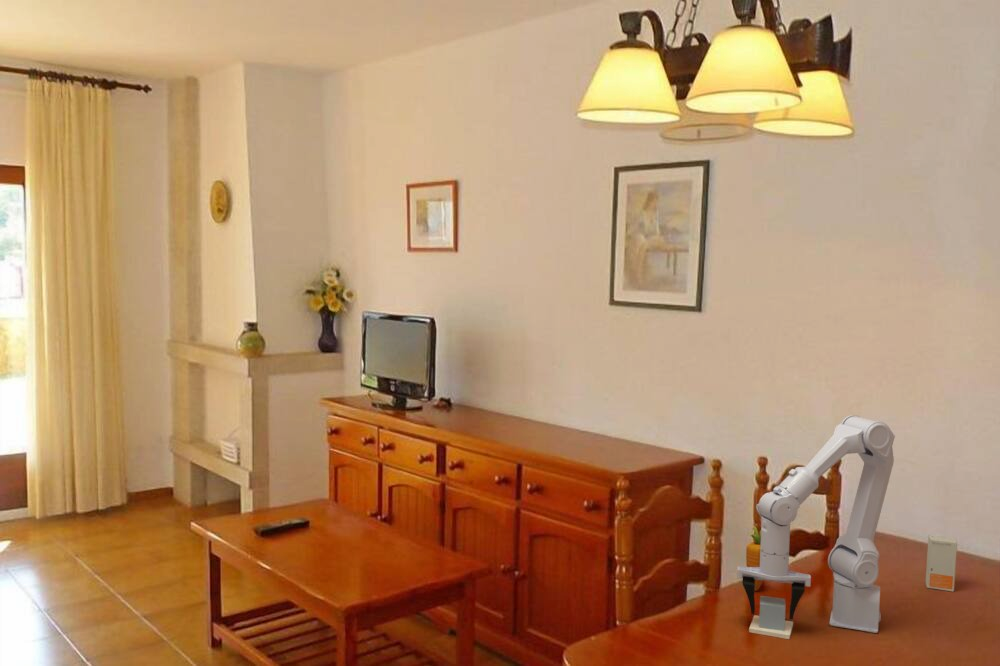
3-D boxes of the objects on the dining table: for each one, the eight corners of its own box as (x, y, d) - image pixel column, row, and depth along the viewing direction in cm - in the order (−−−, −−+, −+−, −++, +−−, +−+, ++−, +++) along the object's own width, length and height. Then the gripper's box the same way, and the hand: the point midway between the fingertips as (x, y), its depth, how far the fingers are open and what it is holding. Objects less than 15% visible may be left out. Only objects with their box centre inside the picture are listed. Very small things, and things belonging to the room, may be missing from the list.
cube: (784, 622, 187) (785, 598, 187) (784, 630, 182) (785, 607, 182) (759, 618, 189) (760, 595, 188) (759, 627, 184) (760, 604, 184)
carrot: (767, 595, 205) (770, 531, 204) (745, 593, 206) (748, 530, 205) (765, 588, 210) (768, 526, 209) (743, 586, 211) (746, 524, 210)
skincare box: (926, 588, 212) (929, 539, 212) (925, 583, 216) (927, 534, 216) (954, 592, 210) (957, 542, 209) (953, 586, 214) (955, 538, 213)
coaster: (793, 625, 188) (793, 621, 188) (789, 639, 180) (789, 635, 180) (754, 618, 191) (754, 615, 191) (749, 632, 183) (749, 628, 183)
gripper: (810, 549, 186) (807, 612, 187) (739, 542, 190) (736, 603, 191) (812, 559, 179) (809, 625, 180) (738, 551, 184) (735, 615, 184)
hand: (771, 615), depth 185 cm, fingers open, 7 cm apart
